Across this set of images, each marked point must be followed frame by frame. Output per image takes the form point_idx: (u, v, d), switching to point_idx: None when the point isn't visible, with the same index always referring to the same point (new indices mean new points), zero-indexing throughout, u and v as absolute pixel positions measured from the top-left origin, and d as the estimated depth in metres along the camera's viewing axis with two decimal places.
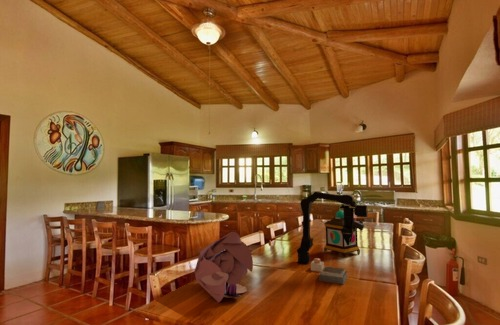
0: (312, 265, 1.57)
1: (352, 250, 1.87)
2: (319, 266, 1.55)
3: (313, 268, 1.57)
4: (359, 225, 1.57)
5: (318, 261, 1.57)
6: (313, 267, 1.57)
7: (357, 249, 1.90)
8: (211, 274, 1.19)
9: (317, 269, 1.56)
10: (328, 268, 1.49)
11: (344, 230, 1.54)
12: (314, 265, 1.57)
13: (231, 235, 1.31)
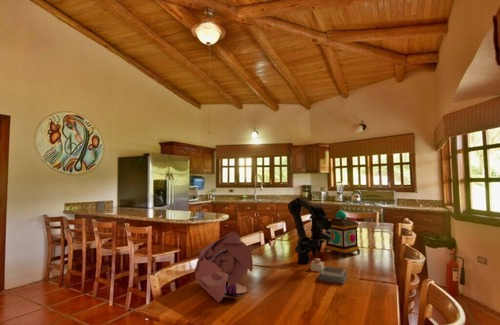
0: (312, 265, 1.57)
1: (352, 250, 1.87)
2: (319, 266, 1.55)
3: (313, 268, 1.57)
4: (326, 236, 1.55)
5: (318, 261, 1.57)
6: (313, 267, 1.57)
7: (357, 249, 1.90)
8: (211, 274, 1.19)
9: (317, 269, 1.56)
10: (328, 268, 1.49)
11: (310, 242, 1.52)
12: (314, 265, 1.57)
13: (231, 235, 1.31)
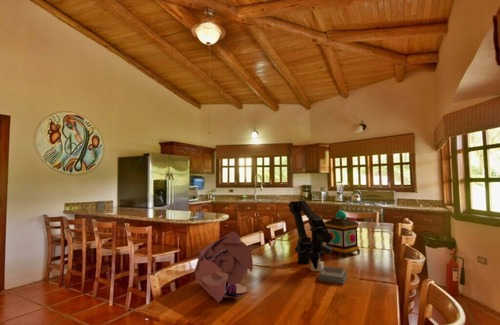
0: (312, 265, 1.57)
1: (352, 250, 1.87)
2: (319, 266, 1.55)
3: (313, 268, 1.57)
4: (326, 249, 1.55)
5: (318, 261, 1.57)
6: (313, 267, 1.57)
7: (357, 249, 1.90)
8: (211, 274, 1.19)
9: (317, 269, 1.56)
10: (328, 268, 1.49)
11: (310, 255, 1.52)
12: None
13: (231, 235, 1.31)
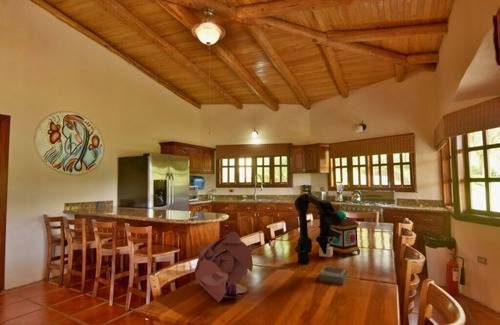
0: (321, 250, 1.48)
1: (352, 250, 1.87)
2: (328, 251, 1.47)
3: (322, 253, 1.48)
4: (336, 233, 1.46)
5: (327, 246, 1.49)
6: (322, 252, 1.48)
7: (357, 249, 1.90)
8: (211, 274, 1.19)
9: (326, 254, 1.47)
10: (328, 268, 1.49)
11: (319, 239, 1.43)
12: None
13: (231, 235, 1.31)
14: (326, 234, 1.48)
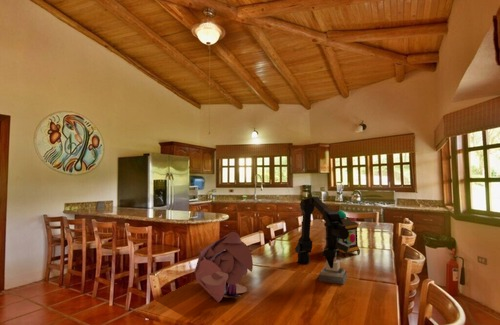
0: (327, 263, 1.42)
1: (352, 250, 1.87)
2: (335, 265, 1.40)
3: (328, 267, 1.42)
4: (343, 246, 1.39)
5: (334, 259, 1.42)
6: (328, 266, 1.42)
7: (357, 249, 1.90)
8: (211, 274, 1.19)
9: (332, 268, 1.41)
10: None
11: (326, 253, 1.36)
12: None
13: (231, 235, 1.31)
14: (333, 247, 1.41)
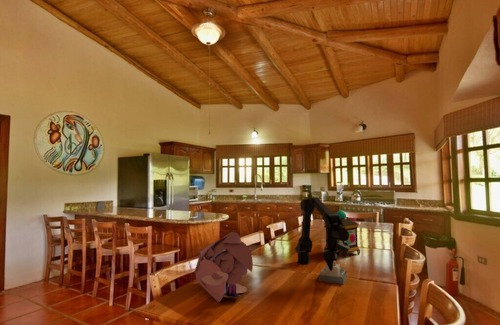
0: (327, 268, 1.42)
1: (352, 250, 1.87)
2: (335, 269, 1.40)
3: (328, 271, 1.41)
4: (343, 248, 1.39)
5: (334, 263, 1.42)
6: (328, 270, 1.41)
7: (357, 249, 1.90)
8: (211, 274, 1.19)
9: (333, 272, 1.40)
10: None
11: (326, 254, 1.36)
12: None
13: (231, 235, 1.31)
14: (333, 249, 1.41)
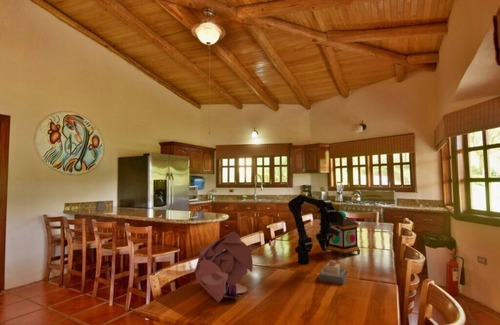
0: (327, 268, 1.42)
1: (352, 250, 1.87)
2: (335, 269, 1.40)
3: (328, 271, 1.41)
4: (335, 231, 1.55)
5: (334, 263, 1.42)
6: (328, 270, 1.41)
7: (357, 249, 1.90)
8: (211, 274, 1.19)
9: (333, 272, 1.40)
10: None
11: (319, 236, 1.52)
12: (329, 268, 1.41)
13: (231, 235, 1.31)
14: (326, 231, 1.57)
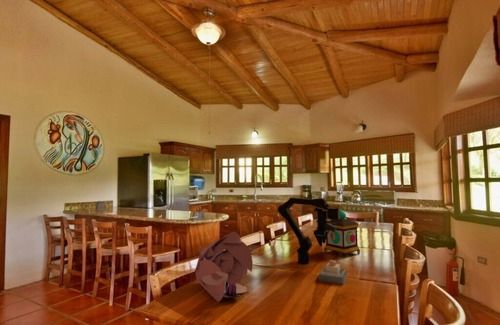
0: (327, 268, 1.42)
1: (352, 250, 1.87)
2: (335, 269, 1.40)
3: (328, 271, 1.41)
4: (331, 227, 1.64)
5: (334, 263, 1.42)
6: (328, 270, 1.41)
7: (357, 249, 1.90)
8: (211, 274, 1.19)
9: (333, 272, 1.40)
10: None
11: (316, 232, 1.61)
12: (329, 268, 1.41)
13: (231, 235, 1.31)
14: (323, 228, 1.66)
